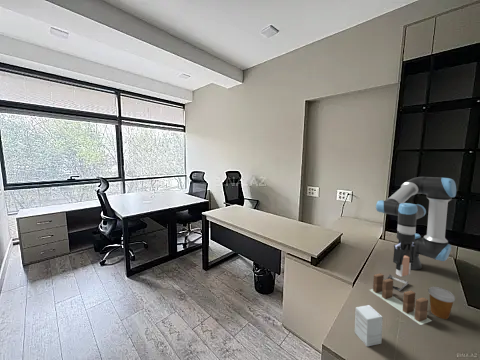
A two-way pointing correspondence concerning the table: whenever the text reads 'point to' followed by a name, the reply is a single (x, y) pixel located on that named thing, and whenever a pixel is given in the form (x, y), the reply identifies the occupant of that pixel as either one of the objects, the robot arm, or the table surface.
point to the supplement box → (368, 325)
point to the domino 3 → (405, 265)
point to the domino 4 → (408, 301)
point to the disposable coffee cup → (441, 302)
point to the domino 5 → (421, 309)
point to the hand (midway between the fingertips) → (402, 274)
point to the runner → (400, 307)
